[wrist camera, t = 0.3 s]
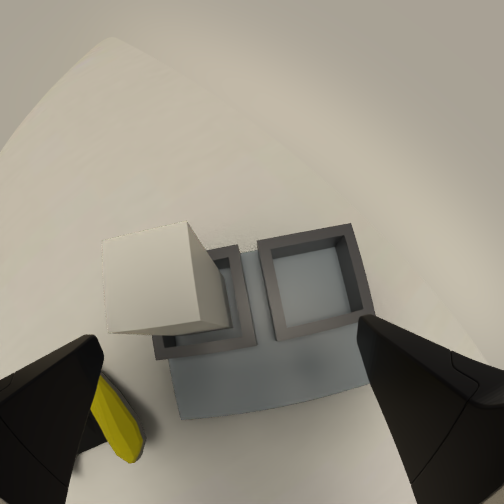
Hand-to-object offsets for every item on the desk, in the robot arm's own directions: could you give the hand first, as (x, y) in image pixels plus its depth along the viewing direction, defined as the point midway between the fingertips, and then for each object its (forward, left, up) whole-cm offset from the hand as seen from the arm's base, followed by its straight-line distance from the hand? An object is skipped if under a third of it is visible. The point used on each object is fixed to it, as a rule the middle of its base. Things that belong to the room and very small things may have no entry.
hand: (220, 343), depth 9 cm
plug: (+4, +2, -13) cm, 14 cm away
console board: (0, -2, -14) cm, 14 cm away
